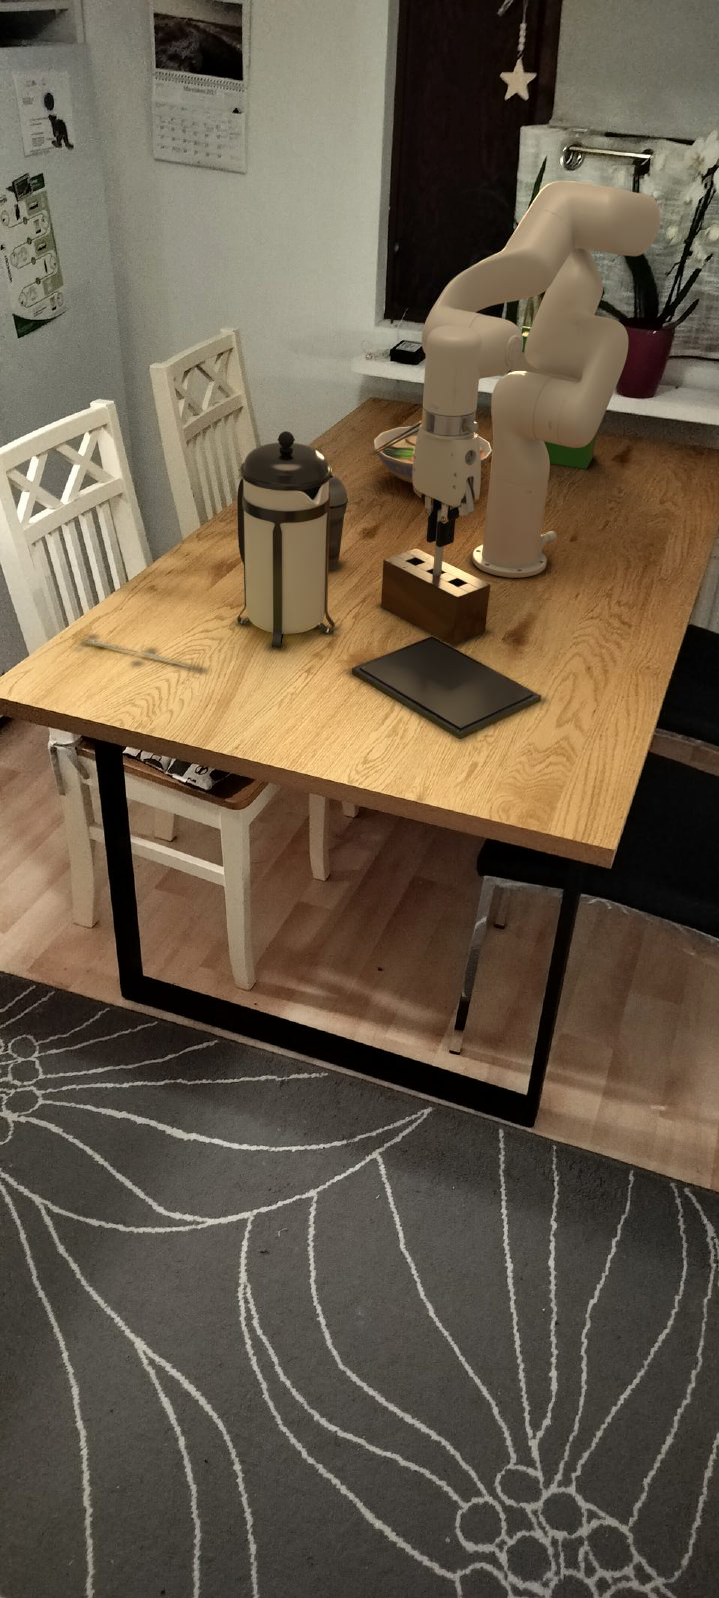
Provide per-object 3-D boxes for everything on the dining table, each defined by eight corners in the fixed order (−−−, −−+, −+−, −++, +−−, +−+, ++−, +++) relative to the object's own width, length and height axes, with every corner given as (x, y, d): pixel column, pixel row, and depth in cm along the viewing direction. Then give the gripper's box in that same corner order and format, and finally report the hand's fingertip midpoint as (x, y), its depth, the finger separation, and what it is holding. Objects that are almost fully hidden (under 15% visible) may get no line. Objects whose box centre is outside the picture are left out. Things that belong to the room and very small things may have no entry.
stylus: (194, 670, 167) (77, 642, 172) (194, 676, 168) (77, 648, 173) (207, 657, 170) (92, 630, 176) (207, 663, 171) (92, 636, 176)
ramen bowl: (451, 515, 219) (455, 472, 214) (346, 487, 228) (347, 445, 223) (510, 476, 236) (515, 435, 231) (410, 451, 245) (413, 411, 241)
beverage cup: (341, 577, 196) (344, 458, 184) (298, 571, 197) (299, 453, 185) (350, 559, 202) (354, 443, 190) (308, 554, 203) (310, 438, 191)
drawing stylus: (435, 594, 184) (442, 508, 176) (441, 597, 183) (448, 511, 175) (429, 596, 183) (436, 510, 175) (435, 599, 183) (442, 513, 174)
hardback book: (501, 455, 245) (514, 335, 231) (509, 444, 251) (523, 325, 237) (586, 468, 241) (604, 346, 227) (592, 456, 247) (611, 337, 233)
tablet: (351, 672, 170) (351, 666, 170) (431, 640, 179) (431, 634, 179) (460, 739, 157) (460, 732, 157) (540, 700, 166) (541, 694, 166)
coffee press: (346, 609, 187) (353, 418, 169) (321, 656, 174) (325, 455, 156) (241, 594, 190) (236, 405, 172) (208, 640, 177) (199, 441, 159)
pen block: (412, 594, 192) (416, 548, 187) (485, 632, 182) (490, 584, 177) (380, 606, 188) (383, 559, 183) (453, 645, 178) (457, 597, 174)
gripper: (507, 430, 164) (495, 553, 175) (429, 400, 174) (422, 519, 185) (469, 442, 160) (459, 567, 171) (391, 410, 170) (386, 531, 181)
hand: (440, 541), depth 178 cm, fingers closed on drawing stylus, 1 cm apart
